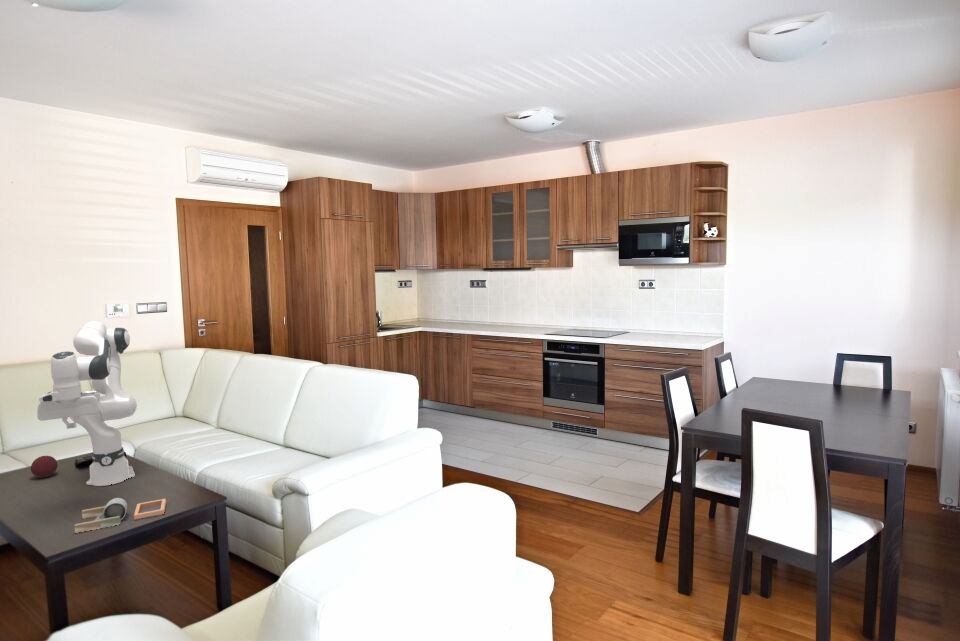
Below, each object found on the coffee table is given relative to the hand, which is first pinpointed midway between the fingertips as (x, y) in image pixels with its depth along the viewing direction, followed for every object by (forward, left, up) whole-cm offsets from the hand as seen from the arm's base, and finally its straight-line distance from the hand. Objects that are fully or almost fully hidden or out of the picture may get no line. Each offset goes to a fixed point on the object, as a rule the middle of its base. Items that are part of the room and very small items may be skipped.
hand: (71, 427), depth 224 cm
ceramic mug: (+17, +13, -34) cm, 40 cm away
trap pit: (+16, +26, -34) cm, 45 cm away
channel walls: (+16, +9, -34) cm, 39 cm away
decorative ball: (-54, -23, -34) cm, 68 cm away
